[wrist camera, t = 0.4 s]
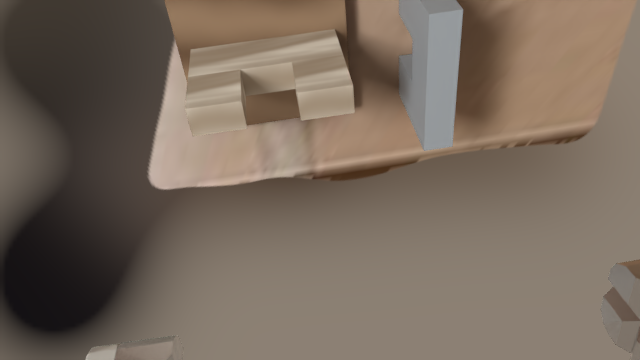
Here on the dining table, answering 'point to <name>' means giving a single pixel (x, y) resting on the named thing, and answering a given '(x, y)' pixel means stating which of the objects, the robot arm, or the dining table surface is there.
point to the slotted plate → (431, 68)
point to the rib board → (251, 27)
